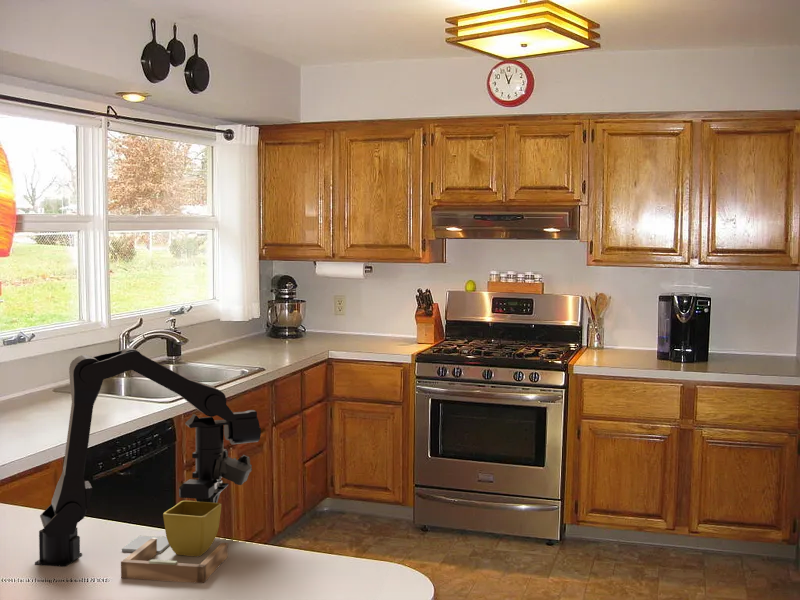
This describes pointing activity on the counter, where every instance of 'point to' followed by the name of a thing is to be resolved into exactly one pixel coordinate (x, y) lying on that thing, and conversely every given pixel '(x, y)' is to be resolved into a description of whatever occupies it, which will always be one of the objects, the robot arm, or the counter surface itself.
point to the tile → (140, 540)
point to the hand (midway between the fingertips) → (209, 520)
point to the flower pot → (192, 526)
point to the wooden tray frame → (169, 565)
